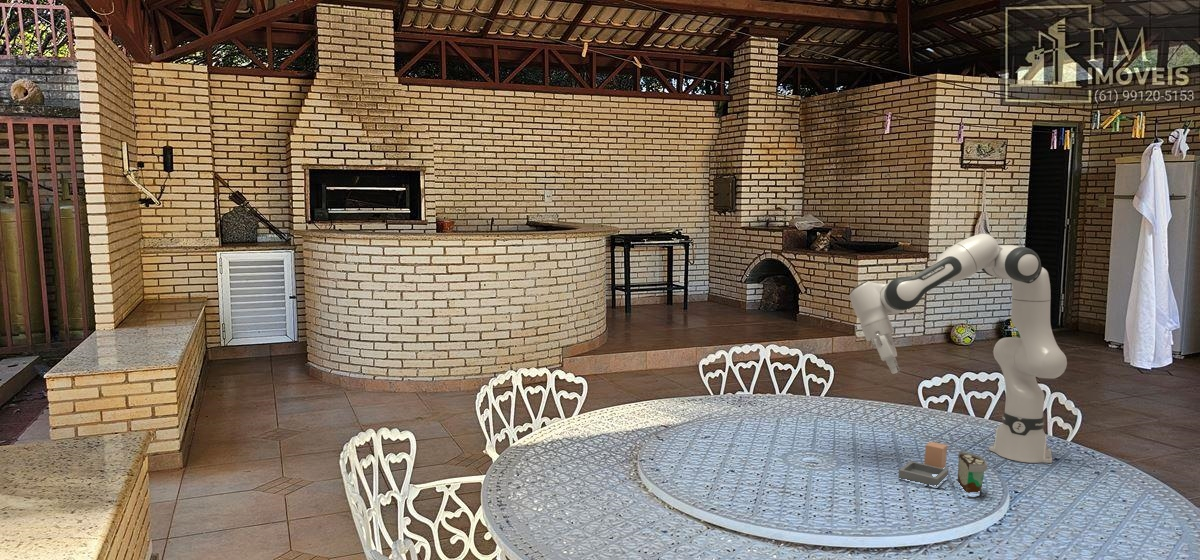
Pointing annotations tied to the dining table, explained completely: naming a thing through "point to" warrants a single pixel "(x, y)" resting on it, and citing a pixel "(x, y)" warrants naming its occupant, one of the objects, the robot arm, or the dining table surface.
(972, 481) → the food container
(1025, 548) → the dining table surface
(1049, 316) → the robot arm
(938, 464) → the tan rounded block
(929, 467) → the tray
